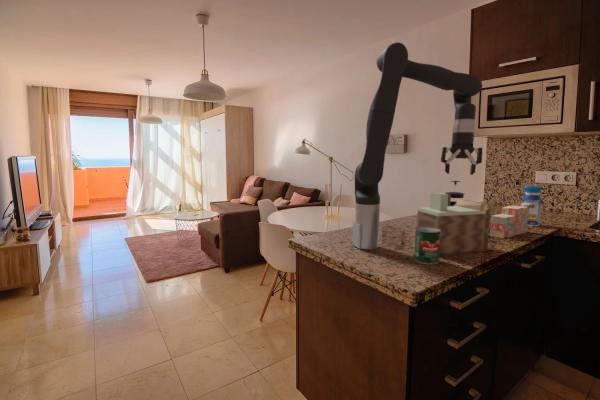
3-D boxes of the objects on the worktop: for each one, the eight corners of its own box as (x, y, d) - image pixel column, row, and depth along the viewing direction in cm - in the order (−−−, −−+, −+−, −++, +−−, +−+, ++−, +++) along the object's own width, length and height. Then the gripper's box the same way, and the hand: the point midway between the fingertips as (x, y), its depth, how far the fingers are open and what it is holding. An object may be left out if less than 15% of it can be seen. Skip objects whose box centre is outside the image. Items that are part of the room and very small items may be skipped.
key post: (478, 251, 122) (481, 209, 120) (463, 245, 129) (465, 206, 127) (487, 250, 123) (490, 209, 121) (471, 244, 130) (474, 206, 128)
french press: (437, 225, 167) (440, 180, 164) (447, 223, 173) (450, 179, 170) (460, 229, 158) (463, 182, 155) (470, 226, 164) (473, 181, 160)
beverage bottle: (543, 226, 164) (547, 186, 162) (530, 227, 162) (534, 187, 160) (528, 223, 172) (531, 185, 170) (515, 223, 170) (518, 185, 168)
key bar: (480, 210, 117) (480, 204, 117) (456, 205, 129) (457, 199, 128) (487, 210, 118) (487, 203, 117) (463, 205, 129) (463, 199, 129)
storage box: (435, 256, 115) (438, 216, 113) (415, 247, 126) (417, 210, 124) (482, 252, 120) (485, 213, 118) (459, 244, 131) (461, 208, 129)
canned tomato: (425, 256, 116) (426, 225, 114) (444, 262, 109) (446, 230, 107) (408, 259, 112) (410, 227, 111) (427, 265, 105) (429, 232, 104)
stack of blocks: (504, 239, 140) (506, 210, 138) (489, 236, 145) (491, 208, 144) (526, 232, 152) (529, 206, 150) (512, 230, 157) (514, 204, 155)
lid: (437, 220, 113) (439, 195, 112) (417, 214, 125) (418, 192, 123) (485, 217, 118) (487, 193, 117) (461, 212, 129) (463, 190, 128)
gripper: (444, 131, 123) (441, 173, 126) (486, 131, 120) (482, 175, 122) (442, 132, 131) (438, 173, 133) (481, 132, 127) (477, 174, 129)
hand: (459, 174), depth 127 cm, fingers open, 8 cm apart
